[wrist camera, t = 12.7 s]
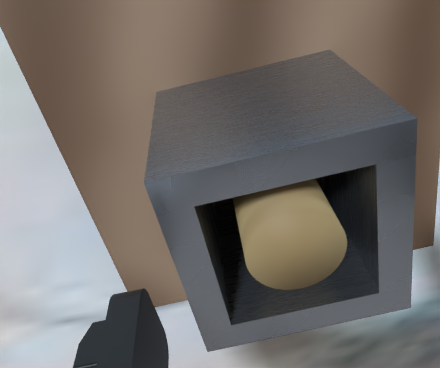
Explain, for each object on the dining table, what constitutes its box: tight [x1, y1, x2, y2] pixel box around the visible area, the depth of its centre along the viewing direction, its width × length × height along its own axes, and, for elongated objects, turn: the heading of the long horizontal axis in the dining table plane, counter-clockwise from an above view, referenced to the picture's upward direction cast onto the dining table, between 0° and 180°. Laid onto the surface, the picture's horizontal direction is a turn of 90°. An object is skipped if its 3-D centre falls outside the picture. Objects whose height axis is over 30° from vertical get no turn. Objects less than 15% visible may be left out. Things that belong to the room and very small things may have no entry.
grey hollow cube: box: [144, 49, 417, 352], centre depth 13 cm, size 6×6×6 cm
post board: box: [0, 0, 440, 307], centre depth 14 cm, size 14×14×8 cm
